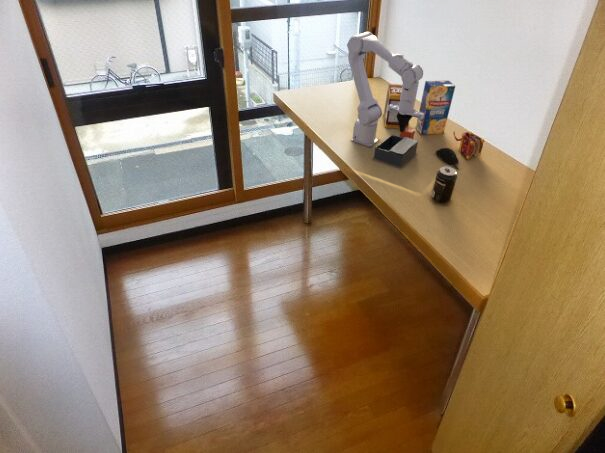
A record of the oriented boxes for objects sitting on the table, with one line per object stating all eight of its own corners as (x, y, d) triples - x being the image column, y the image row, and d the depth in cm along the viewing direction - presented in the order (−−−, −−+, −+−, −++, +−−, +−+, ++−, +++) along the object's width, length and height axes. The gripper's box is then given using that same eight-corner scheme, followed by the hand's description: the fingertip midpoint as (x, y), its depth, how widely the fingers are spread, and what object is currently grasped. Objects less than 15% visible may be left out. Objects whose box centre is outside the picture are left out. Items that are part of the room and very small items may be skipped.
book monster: (482, 157, 178) (455, 161, 176) (471, 148, 185) (445, 151, 183) (487, 134, 172) (460, 137, 170) (476, 125, 179) (449, 128, 177)
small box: (398, 142, 188) (400, 129, 184) (402, 139, 190) (404, 126, 187) (408, 145, 185) (411, 132, 182) (412, 142, 188) (415, 129, 184)
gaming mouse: (450, 170, 170) (453, 161, 167) (432, 152, 181) (434, 144, 179) (464, 168, 171) (467, 159, 169) (446, 151, 182) (448, 142, 180)
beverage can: (446, 194, 156) (454, 165, 148) (452, 205, 150) (461, 176, 143) (428, 194, 155) (435, 165, 148) (433, 205, 150) (441, 176, 143)
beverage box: (443, 133, 196) (455, 86, 182) (420, 134, 194) (431, 86, 181) (437, 127, 201) (449, 80, 188) (415, 127, 200) (425, 81, 186)
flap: (404, 137, 178) (404, 136, 178) (417, 141, 176) (418, 140, 176) (389, 151, 169) (389, 150, 169) (402, 155, 166) (402, 154, 166)
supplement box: (404, 115, 210) (410, 84, 201) (407, 129, 198) (413, 96, 189) (383, 114, 211) (388, 83, 201) (385, 127, 199) (390, 95, 189)
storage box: (389, 145, 185) (391, 134, 181) (415, 154, 179) (417, 142, 176) (373, 159, 175) (375, 147, 172) (400, 168, 170) (402, 156, 166)
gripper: (386, 97, 165) (381, 129, 173) (421, 106, 159) (414, 139, 167) (394, 91, 170) (389, 123, 178) (428, 100, 163) (421, 133, 172)
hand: (402, 131), depth 173 cm, fingers closed
